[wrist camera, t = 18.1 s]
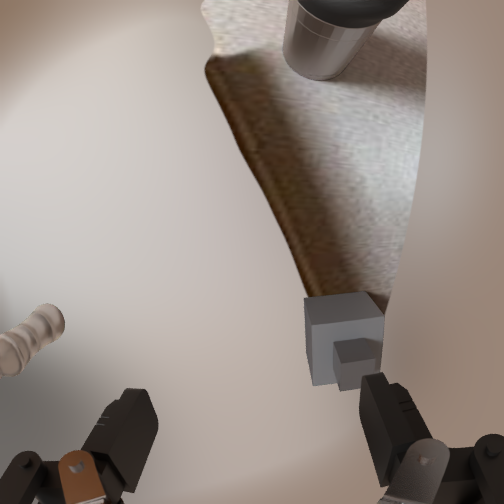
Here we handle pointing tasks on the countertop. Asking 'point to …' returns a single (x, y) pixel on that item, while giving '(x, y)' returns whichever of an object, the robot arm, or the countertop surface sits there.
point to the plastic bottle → (29, 338)
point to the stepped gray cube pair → (343, 338)
